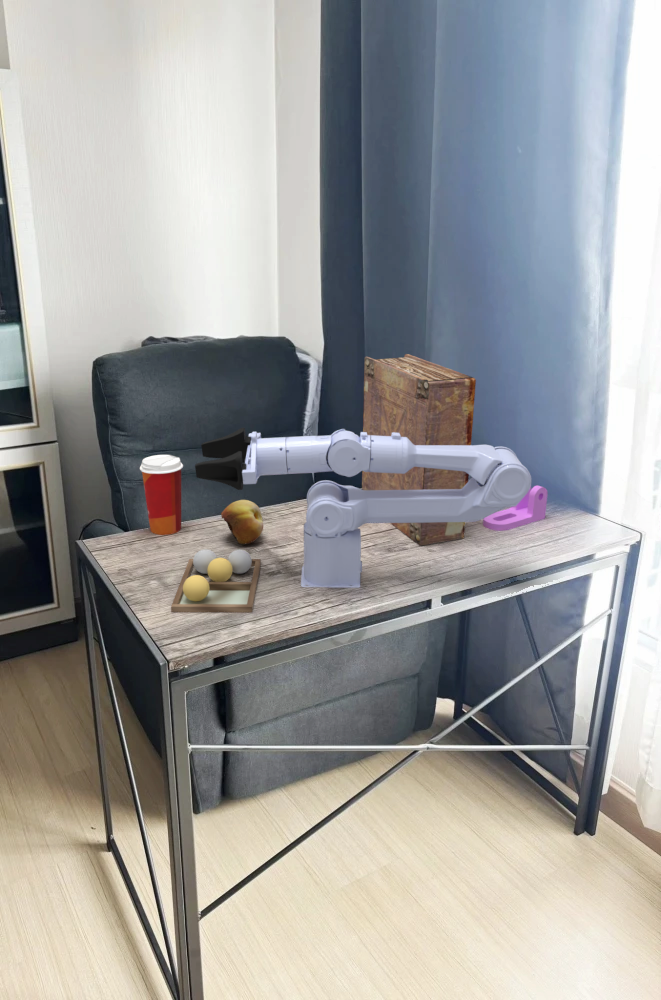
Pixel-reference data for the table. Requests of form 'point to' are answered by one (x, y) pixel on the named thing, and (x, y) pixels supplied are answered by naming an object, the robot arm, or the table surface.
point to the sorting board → (219, 594)
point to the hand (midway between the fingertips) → (199, 460)
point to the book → (419, 428)
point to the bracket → (520, 511)
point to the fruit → (244, 520)
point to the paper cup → (163, 493)
